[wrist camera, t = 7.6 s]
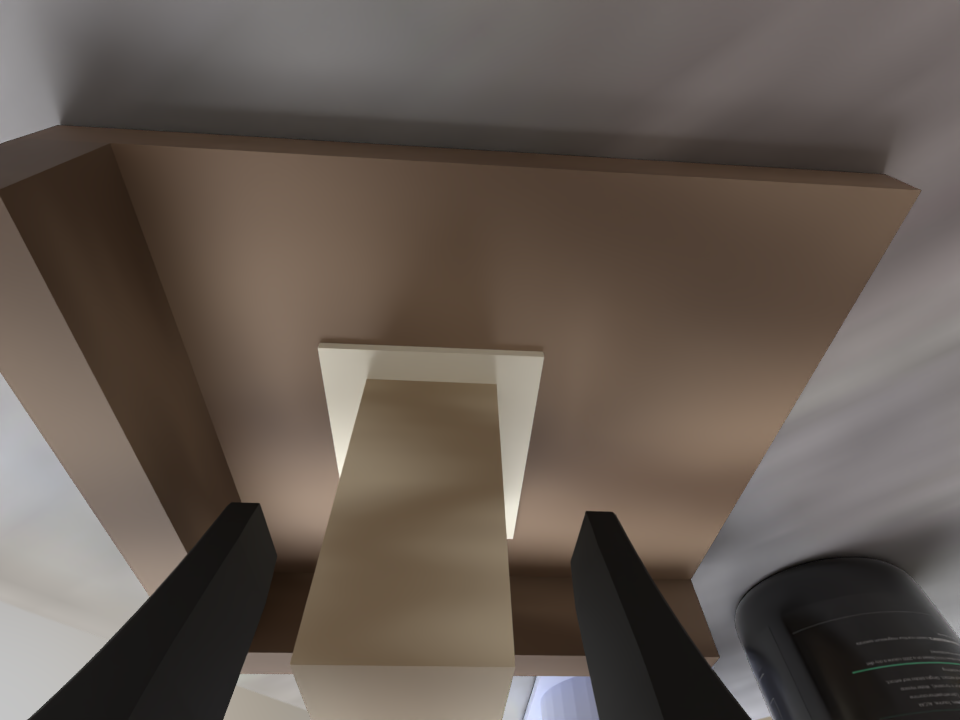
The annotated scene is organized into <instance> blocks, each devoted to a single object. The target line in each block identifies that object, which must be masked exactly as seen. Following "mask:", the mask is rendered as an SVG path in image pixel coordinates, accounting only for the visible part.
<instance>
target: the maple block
mask: <svg viewBox="0 0 960 720" xmlns="http://www.w3.org/2000/svg"><path fill="white" fill-rule="evenodd" d="M290 667H291V669H292V672H293V675H294V677H295V680H296V682H297V685H298V687H299V690H300V693H301V695H302V698H303V700H304V703H305V706H306V708H307V711H308V713H309V716H310V718H311V720H502V718H503V714H504V710H505V706H506V702H507V698H508V694H509V690H510V686H511V682H512V678H513V674H514V670H515V655H514V640H513V624H512V609H511V594H510V579H509V564H508V549H507V534H506V519H505V504H504V488H503V473H502V458H501V443H500V428H499V413H498V398H497V384H481V383H457V382H432V381H407V380H383V379H366V383H365V387H364V390H363V394H362V398H361V402H360V405H359V409H358V413H357V416H356V420H355V424H354V428H353V431H352V435H351V439H350V442H349V446H348V450H347V454H346V457H345V461H344V465H343V468H342V472H341V476H340V480H339V483H338V487H337V491H336V494H335V498H334V502H333V506H332V509H331V513H330V517H329V520H328V524H327V528H326V532H325V535H324V539H323V543H322V546H321V550H320V554H319V558H318V561H317V565H316V569H315V573H314V576H313V580H312V584H311V587H310V591H309V595H308V599H307V602H306V606H305V610H304V613H303V617H302V621H301V625H300V628H299V632H298V636H297V639H296V643H295V647H294V651H293V654H292V658H291V662H290Z"/></svg>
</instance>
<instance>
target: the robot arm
mask: <svg viewBox="0 0 960 720" xmlns="http://www.w3.org/2000/svg"><path fill="white" fill-rule="evenodd" d="M276 560H277V553H276V550H275V547H274V544H273V541H272V538H271V535H270V532H269V529H268V526H267V523H266V520H265V517H264V514H263V511H262V508H261V505H260V503H241V502H231V503H230V504H229V505H227V507H226V508H225V509H224V510H223V511H222V513H221V514H220V515H219V516H218V518H217V519H216V520H215V521H214V522H213V524H212V525H211V526H210V527H209V529H208V530H207V531H206V532H205V533H204V535H203V536H202V537H201V538H200V540H199V541H198V542H197V543H196V544H195V546H194V547H193V548H192V549H191V550H190V551H189V553H188V554H187V555H186V556H185V557H184V559H183V560H182V561H181V562H180V563H179V564H178V566H177V567H176V568H175V569H174V570H173V571H172V572H171V574H170V575H169V576H168V577H167V578H166V579H165V580H164V582H163V583H162V584H161V585H160V586H159V587H158V588H157V589H156V591H155V592H154V593H153V594H152V595H151V596H150V597H149V599H148V600H147V601H146V602H145V603H144V604H143V605H142V606H141V607H140V608H139V610H138V611H137V612H136V613H135V614H134V615H133V616H132V617H131V618H130V619H129V620H128V621H127V622H126V623H125V624H124V625H123V626H122V628H121V629H120V630H119V631H118V632H117V633H116V634H115V635H114V636H113V637H112V638H111V639H110V640H109V641H108V642H107V643H106V644H105V646H104V647H103V648H102V649H101V650H100V651H99V652H98V653H97V654H96V655H95V656H94V657H93V658H92V659H91V660H90V661H89V662H88V663H87V664H86V665H85V666H84V667H83V668H82V669H81V670H80V671H79V672H78V673H77V674H76V675H75V676H74V677H73V678H72V679H70V680H69V681H68V682H67V683H66V684H65V685H64V686H63V687H62V688H61V689H60V690H59V691H58V692H57V693H56V694H55V695H54V696H53V697H52V698H51V699H49V701H47V702H46V703H45V704H44V705H43V706H42V707H41V708H40V709H39V710H38V711H37V712H36V713H34V714H33V715H32V716H31V717H30V718H29V719H28V720H223V719H224V716H225V713H226V710H227V707H228V705H229V702H230V699H231V697H232V694H233V691H234V689H235V686H236V683H237V681H238V678H239V675H240V672H241V670H242V667H243V664H244V662H245V659H246V656H247V654H248V651H249V648H250V645H251V643H252V640H253V637H254V635H255V632H256V629H257V626H258V624H259V621H260V618H261V615H262V612H263V610H264V607H265V604H266V600H267V596H268V592H269V589H270V585H271V581H272V577H273V572H274V568H275V564H276ZM570 563H571V573H572V583H573V592H574V600H575V609H576V614H577V619H578V623H579V628H580V633H581V637H582V642H583V647H584V652H585V656H586V661H587V665H588V670H589V675H590V677H587V676H537V677H536V681H535V684H534V687H533V690H532V694H531V697H530V700H529V703H528V706H527V710H526V713H525V716H524V719H523V720H752V719H751V718H750V717H749V716H748V715H747V713H746V712H745V711H744V709H743V708H742V707H741V706H740V704H739V703H738V702H737V700H736V699H735V698H734V697H733V695H732V694H731V693H730V692H729V690H728V689H727V688H726V686H725V685H724V684H723V682H722V681H721V680H720V678H719V677H718V676H717V674H716V673H715V672H714V666H712V667H711V666H710V665H709V663H708V662H707V661H706V659H705V658H704V656H703V655H702V653H701V652H700V651H699V649H698V648H697V646H696V645H695V644H694V642H693V641H692V639H691V638H690V636H689V635H688V633H687V632H686V630H685V629H684V627H683V626H682V625H681V623H680V622H679V620H678V619H677V617H676V615H675V614H674V612H673V611H672V609H671V608H670V606H669V605H668V603H667V601H666V600H665V598H664V597H663V595H662V594H661V592H660V590H659V589H658V587H657V586H656V584H655V582H654V581H653V579H652V578H651V576H650V574H649V573H648V571H647V569H646V567H645V566H644V564H643V562H642V561H641V559H640V557H639V556H638V554H637V552H636V550H635V549H634V547H633V545H632V543H631V542H630V540H629V538H628V536H627V534H626V532H625V531H624V529H623V527H622V525H621V523H620V521H619V519H618V518H617V516H616V514H615V513H614V512H609V511H586V512H585V516H584V519H583V522H582V525H581V529H580V532H579V535H578V538H577V542H576V545H575V548H574V551H573V555H572V558H571V561H570Z"/></svg>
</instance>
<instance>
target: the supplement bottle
mask: <svg viewBox="0 0 960 720" xmlns="http://www.w3.org/2000/svg"><path fill="white" fill-rule="evenodd" d="M735 628H736V631H737V634H738V637H739V639H740V642H741V644H742V647H743V649H744V652H745V654H746V657H747V659H748V662H749V664H750V667H751V669H752V672H753V674H754V676H755V679H756V681H757V684H758V686H759V688H760V691H761V693H762V696H763V698H764V700H765V703H766V705H767V708H768V710H769V712H770V715H771V717H772V720H960V638H959V637H958V636H957V634H956V633H955V632H954V630H953V629H952V628H951V626H950V625H949V624H948V622H947V621H946V620H945V618H944V617H943V616H942V614H941V613H940V612H939V610H938V609H937V608H936V606H935V605H934V604H933V603H932V602H931V600H930V599H929V598H928V596H927V595H926V594H925V593H924V591H923V590H922V589H921V587H920V586H919V585H918V584H917V582H916V581H915V580H914V579H913V578H912V577H911V576H910V575H909V574H907V573H906V572H905V571H903V570H902V569H900V568H898V567H896V566H894V565H892V564H889V563H887V562H884V561H880V560H876V559H871V558H863V557H842V558H832V559H825V560H819V561H814V562H810V563H806V564H802V565H799V566H796V567H793V568H790V569H787V570H785V571H782V572H780V573H778V574H775V575H773V576H771V577H769V578H768V579H766V580H764V581H762V582H761V583H759V584H758V585H756V586H755V587H754V588H752V589H751V590H750V591H749V592H748V593H747V594H746V595H745V596H744V597H743V598H742V600H741V601H740V603H739V605H738V607H737V610H736V613H735Z"/></svg>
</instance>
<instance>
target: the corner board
mask: <svg viewBox="0 0 960 720" xmlns="http://www.w3.org/2000/svg"><path fill="white" fill-rule="evenodd" d="M920 192H921V190H920V189H917V188H915V187H913V186H910V185H908V184H906V183H904V182H901V181H899V180H897V179H895V178H892V177H890V176H888V175H885V174H871V173H854V172H838V171H821V170H804V169H787V168H771V167H754V166H737V165H720V164H703V163H687V162H670V161H653V160H636V159H619V158H603V157H586V156H569V155H552V154H536V153H519V152H502V151H485V150H468V149H452V148H435V147H418V146H401V145H385V144H368V143H351V142H334V141H317V140H301V139H284V138H267V137H250V136H233V135H217V134H200V133H183V132H166V131H150V130H133V129H116V128H99V127H82V126H66V125H57V126H54V127H50V128H47V129H44V130H41V131H38V132H35V133H32V134H29V135H26V136H23V137H19V138H16V139H13V140H10V141H7V142H4V143H1V144H0V372H1V374H2V375H3V377H4V378H5V380H6V381H7V383H8V384H9V386H10V387H11V389H12V390H13V392H14V393H15V395H16V396H17V398H18V399H19V401H20V402H21V404H22V405H23V407H24V409H25V410H26V412H27V413H28V415H29V416H30V418H31V419H32V421H33V422H34V424H35V425H36V427H37V428H38V430H39V431H40V433H41V434H42V436H43V437H44V439H45V440H46V442H47V443H48V445H49V446H50V448H51V449H52V451H53V452H54V454H55V455H56V457H57V458H58V460H59V461H60V463H61V464H62V466H63V467H64V469H65V470H66V472H67V473H68V475H69V476H70V478H71V479H72V481H73V482H74V484H75V485H76V487H77V488H78V490H79V491H80V493H81V494H82V496H83V497H84V499H85V500H86V502H87V503H88V505H89V506H90V508H91V509H92V511H93V512H94V514H95V515H96V517H97V518H98V520H99V521H100V523H101V524H102V526H103V527H104V529H105V530H106V532H107V533H108V535H109V536H110V538H111V539H112V541H113V542H114V544H115V545H116V547H117V548H118V550H119V551H120V553H121V554H122V556H123V557H124V559H125V560H126V562H127V563H128V565H129V566H130V568H131V569H132V571H133V572H134V574H135V575H136V577H137V578H138V580H139V581H140V583H141V584H142V586H143V587H144V589H145V590H146V592H147V593H148V595H149V596H151V595H152V594H153V593H154V592H155V591H156V589H157V588H158V587H159V586H160V585H161V584H162V583H163V582H164V580H165V579H166V578H167V577H168V576H169V575H170V574H171V572H172V571H173V570H174V569H175V568H176V567H177V566H178V564H179V563H180V562H181V561H182V560H183V559H184V557H185V556H186V555H187V554H188V553H189V551H190V550H191V549H192V548H193V547H194V546H195V544H196V543H197V542H198V541H199V540H200V538H201V537H202V536H203V535H204V533H205V532H206V531H207V530H208V529H209V527H210V526H211V525H212V524H213V522H214V521H215V520H216V519H217V518H218V516H219V515H220V514H221V513H222V511H223V510H224V509H225V508H226V507H227V505H229V504H230V503H231V502H241V503H260V505H261V508H262V511H263V514H264V517H265V520H266V523H267V526H268V529H269V532H270V535H271V538H272V541H273V544H274V547H275V550H276V553H277V560H276V564H275V568H274V572H273V577H272V581H271V585H270V589H269V592H268V596H267V600H266V604H265V607H264V610H263V612H262V615H261V618H260V621H259V624H258V626H257V629H256V632H255V635H254V637H253V640H252V643H251V645H250V648H249V651H248V654H247V656H246V659H245V662H244V664H243V667H242V670H241V672H240V674H293V672H292V669H291V667H290V662H291V658H292V654H293V651H294V647H295V643H296V639H297V636H298V632H299V628H300V625H301V621H302V617H303V613H304V610H305V606H306V602H307V599H308V595H309V591H310V587H311V584H312V580H313V576H314V573H315V569H316V565H317V561H318V558H319V554H320V550H321V546H322V543H323V539H324V535H325V532H326V528H327V524H328V520H329V517H330V513H331V509H332V506H333V502H334V498H335V494H336V491H337V487H338V483H339V480H340V476H341V472H342V468H343V465H344V461H345V457H346V454H347V450H348V446H349V442H350V439H351V435H352V431H353V428H354V424H355V420H356V416H357V413H358V409H359V405H360V402H361V398H362V394H363V390H364V387H365V383H366V379H383V380H407V381H432V382H457V383H481V384H497V398H498V413H499V428H500V443H501V458H502V473H503V488H504V504H505V519H506V534H507V549H508V564H509V579H510V594H511V609H512V624H513V640H514V655H515V670H514V674H513V676H587V677H590V675H589V670H588V665H587V661H586V656H585V652H584V647H583V642H582V637H581V633H580V628H579V623H578V619H577V614H576V609H575V600H574V592H573V583H572V573H571V563H570V561H571V558H572V555H573V551H574V548H575V545H576V542H577V538H578V535H579V532H580V529H581V525H582V522H583V519H584V516H585V512H586V511H609V512H614V513H615V514H616V516H617V518H618V519H619V521H620V523H621V525H622V527H623V529H624V531H625V532H626V534H627V536H628V538H629V540H630V542H631V543H632V545H633V547H634V549H635V550H636V552H637V554H638V556H639V557H640V559H641V561H642V562H643V564H644V566H645V567H646V569H647V571H648V573H649V574H650V576H651V578H652V579H653V581H654V582H655V584H656V586H657V587H658V589H659V590H660V592H661V594H662V595H663V597H664V598H665V600H666V601H667V603H668V605H669V606H670V608H671V609H672V611H673V612H674V614H675V615H676V617H677V619H678V620H679V622H680V623H681V625H682V626H683V627H684V629H685V630H686V632H687V633H688V635H689V636H690V638H691V639H692V641H693V642H694V644H695V645H696V646H697V648H698V649H699V651H700V652H701V653H702V655H703V656H704V658H705V659H706V661H707V662H708V663H709V665H710V666H711V667H712V666H713V665H714V664H715V663H716V661H717V660H718V659H719V658H720V656H719V654H718V651H717V648H716V646H715V643H714V640H713V638H712V635H711V632H710V630H709V627H708V624H707V622H706V619H705V616H704V614H703V611H702V608H701V606H700V603H699V600H698V598H697V595H696V592H695V590H694V587H693V584H692V582H691V578H692V577H693V575H694V573H695V572H696V570H697V568H698V567H699V565H700V563H701V561H702V560H703V558H704V556H705V555H706V553H707V551H708V550H709V548H710V546H711V545H712V543H713V541H714V540H715V538H716V536H717V534H718V533H719V531H720V529H721V528H722V526H723V524H724V523H725V521H726V519H727V518H728V516H729V514H730V513H731V511H732V509H733V508H734V506H735V504H736V502H737V501H738V499H739V497H740V496H741V494H742V492H743V491H744V489H745V487H746V486H747V484H748V482H749V481H750V479H751V477H752V475H753V474H754V472H755V470H756V469H757V467H758V465H759V464H760V462H761V460H762V459H763V457H764V455H765V454H766V452H767V450H768V448H769V447H770V445H771V443H772V442H773V440H774V438H775V437H776V435H777V433H778V432H779V430H780V428H781V427H782V425H783V423H784V421H785V420H786V418H787V416H788V415H789V413H790V411H791V410H792V408H793V406H794V405H795V403H796V401H797V400H798V398H799V396H800V395H801V393H802V391H803V389H804V388H805V386H806V384H807V383H808V381H809V379H810V378H811V376H812V374H813V373H814V371H815V369H816V368H817V366H818V364H819V362H820V361H821V359H822V357H823V356H824V354H825V352H826V351H827V349H828V347H829V346H830V344H831V342H832V341H833V339H834V337H835V335H836V334H837V332H838V330H839V329H840V327H841V325H842V324H843V322H844V320H845V319H846V317H847V315H848V314H849V312H850V310H851V309H852V307H853V305H854V303H855V302H856V300H857V298H858V297H859V295H860V293H861V292H862V290H863V288H864V287H865V285H866V283H867V282H868V280H869V278H870V276H871V275H872V273H873V271H874V270H875V268H876V266H877V265H878V263H879V261H880V260H881V258H882V256H883V255H884V253H885V251H886V249H887V248H888V246H889V244H890V243H891V241H892V239H893V238H894V236H895V234H896V233H897V231H898V229H899V228H900V226H901V224H902V222H903V221H904V219H905V217H906V216H907V214H908V212H909V211H910V209H911V207H912V206H913V204H914V202H915V201H916V199H917V197H918V196H919V194H920Z"/></svg>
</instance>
